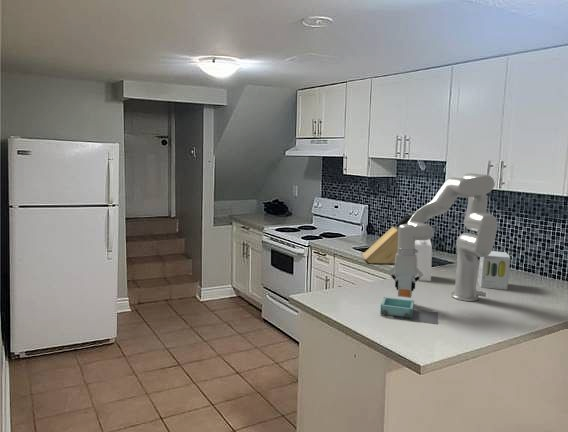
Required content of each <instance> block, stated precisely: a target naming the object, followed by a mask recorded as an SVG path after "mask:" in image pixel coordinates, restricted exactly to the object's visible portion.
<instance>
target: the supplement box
mask: <svg viewBox="0 0 568 432" xmlns="http://www.w3.org/2000/svg"><path fill="white" fill-rule="evenodd" d="M510 264H511V256H510V255H509V254H508V253H507V252H505V251H496V250H492V251H491V253H490V254H489V255H488V256H486V257H479V262H478V272H477V282H478V284H479V286H480V288H483V289H484V288H486V289H494V290H495V289H496V290H505V291H507V290H508V284H509V278H510V277H509V275H510V266H511V265H510Z"/></svg>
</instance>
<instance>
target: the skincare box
mask: <svg viewBox="0 0 568 432" xmlns="http://www.w3.org/2000/svg"><path fill="white" fill-rule="evenodd" d="M412 296H413V291H412V274H408V275H399V277H398V290H397V297H402V298H409V299H411V298H412Z"/></svg>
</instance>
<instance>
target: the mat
mask: <svg viewBox="0 0 568 432" xmlns="http://www.w3.org/2000/svg"><path fill="white" fill-rule="evenodd" d="M382 316H383V318H389V319H396V320H405V321H410V322H419V323H427V324H433V325H439V312H438V311H432V310H423V309H415V308H413V314H412V318H408V319H406V318H405V317H398V316H390V315H386V316H384V315H382Z"/></svg>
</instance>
